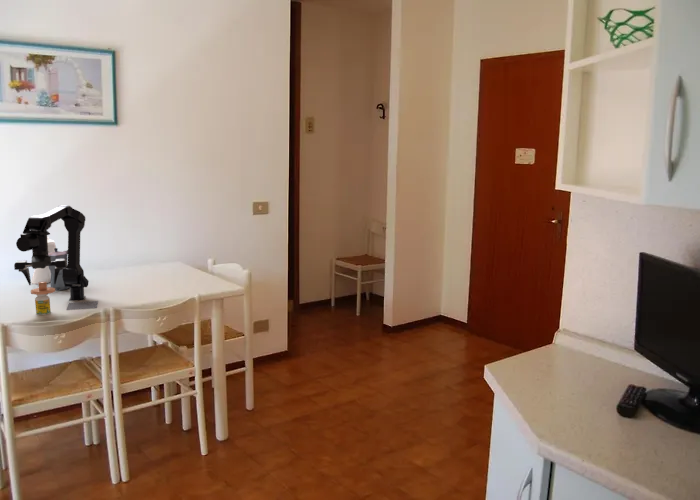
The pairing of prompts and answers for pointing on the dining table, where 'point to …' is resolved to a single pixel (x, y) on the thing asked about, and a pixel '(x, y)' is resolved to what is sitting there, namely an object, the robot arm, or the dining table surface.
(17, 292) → the dining table surface
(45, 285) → the lid
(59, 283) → the moka pot
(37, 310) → the supplement bottle
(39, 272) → the white bottle
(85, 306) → the mat
